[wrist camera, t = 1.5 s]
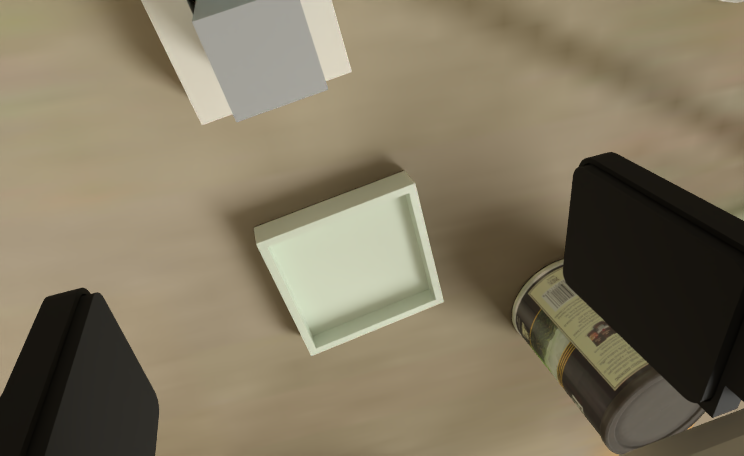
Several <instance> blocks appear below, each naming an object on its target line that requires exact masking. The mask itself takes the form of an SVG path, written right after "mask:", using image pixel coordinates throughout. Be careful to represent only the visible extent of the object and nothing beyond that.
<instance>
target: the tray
mask: <svg viewBox="0 0 744 456" xmlns="http://www.w3.org/2000/svg"><path fill="white" fill-rule="evenodd" d="M254 234H255V240H256V245H257V247H258V249H259V251H260V253H261V255H262V257H263V259H264V261H265V263H266V265H267V267H268V269H269V271H270V273H271V275H272V277H273V279H274V281H275V283H276V285H277V287H278V289H279V291H280V293H281V295H282V298H283V300H284V302H285V304H286V306H287V308H288V310H289V312H290V314H291V316H292V318H293V320H294V322H295V324H296V326H297V328H298V330H299V332H300V334H301V336H302V338H303V340H304V342H305V344H306V346H307V348H308V350H309V352H310V354H311V356H313V355H315V354H318V353H320V352H323V351H325V350H327V349H330V348H332V347H335V346H337V345H340V344H342V343H345V342H347V341H349V340H352V339H354V338H357V337H359V336H362V335H364V334H367V333H369V332H371V331H374V330H376V329H379V328H381V327H384V326H386V325H389V324H391V323H393V322H396V321H398V320H401V319H403V318H406V317H408V316H411V315H413V314H415V313H418V312H420V311H423V310H425V309H428V308H430V307H433V306H435V305H437V304H440V303H442V302H444V301H443V297H442V292H441V288H440V284H439V280H438V276H437V272H436V268H435V263H434V259H433V255H432V251H431V247H430V243H429V239H428V234H427V230H426V226H425V222H424V218H423V214H422V210H421V205H420V201H419V197H418V193H417V189H416V185H415V182H414V181H413V180H412V179H411V178H410V176H409V175H408V174H407V173H406V172H405V171H402V172H399V173H397V174H394V175H391V176H389V177H386V178H384V179H381V180H378V181H376V182H373V183H370V184H368V185H365V186H362V187H360V188H357V189H354V190H352V191H349V192H347V193H344V194H341V195H339V196H336V197H333V198H331V199H328V200H325V201H323V202H320V203H318V204H315V205H312V206H310V207H307V208H304V209H302V210H299V211H296V212H294V213H291V214H289V215H286V216H283V217H281V218H278V219H275V220H273V221H270V222H267V223H265V224H262V225H260V226H257V227H254Z"/></svg>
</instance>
